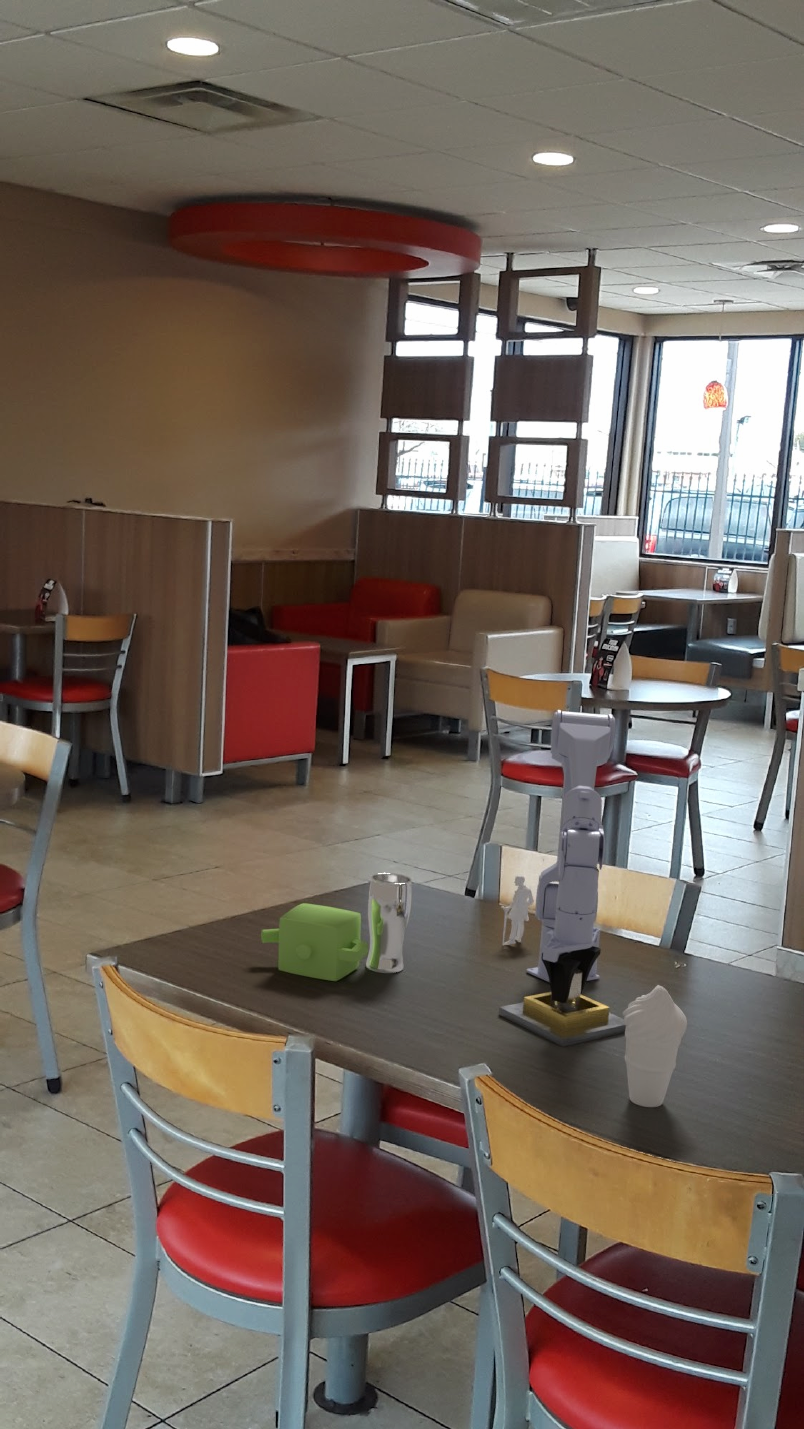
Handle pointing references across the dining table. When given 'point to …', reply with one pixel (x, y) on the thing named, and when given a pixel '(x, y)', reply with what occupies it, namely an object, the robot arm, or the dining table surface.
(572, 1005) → the spout can
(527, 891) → the action figure
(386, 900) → the beer glass
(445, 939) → the dining table surface
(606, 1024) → the fill port
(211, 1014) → the dining table surface
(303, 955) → the gearbox
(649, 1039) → the soft serve ice cream cone
